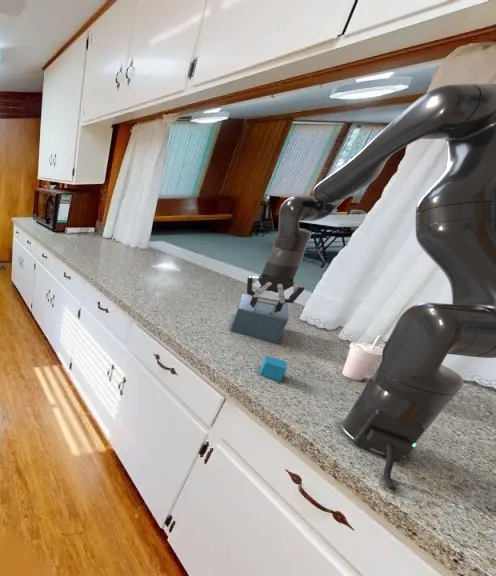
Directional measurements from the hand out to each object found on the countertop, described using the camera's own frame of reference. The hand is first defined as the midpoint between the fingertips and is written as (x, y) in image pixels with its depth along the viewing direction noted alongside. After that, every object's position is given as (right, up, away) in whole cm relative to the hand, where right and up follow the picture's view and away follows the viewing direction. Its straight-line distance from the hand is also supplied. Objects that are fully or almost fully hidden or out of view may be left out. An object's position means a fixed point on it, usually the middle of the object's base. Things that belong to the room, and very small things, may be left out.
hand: (264, 309), depth 99 cm
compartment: (+4, -8, +8) cm, 12 cm away
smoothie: (+10, -18, -15) cm, 26 cm away
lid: (+4, 0, +5) cm, 6 cm away
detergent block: (-12, -18, -14) cm, 26 cm away
